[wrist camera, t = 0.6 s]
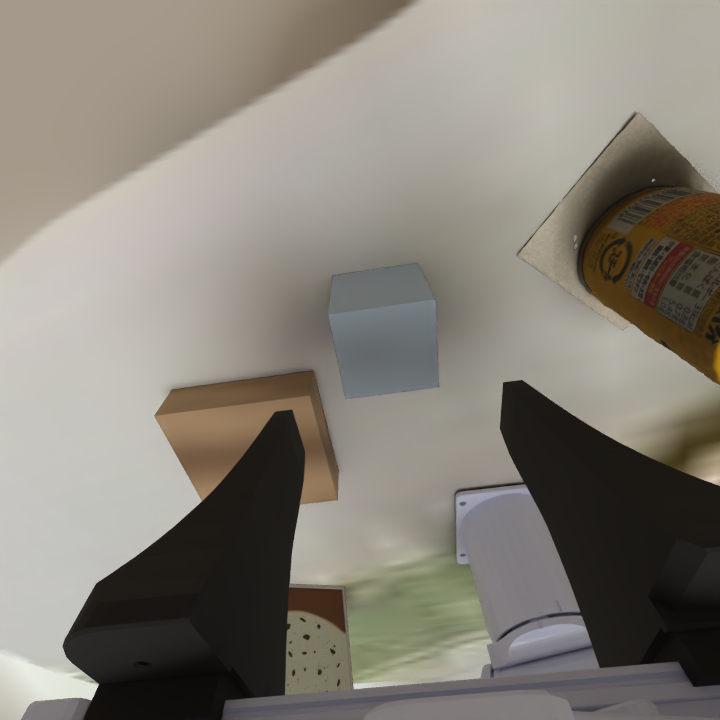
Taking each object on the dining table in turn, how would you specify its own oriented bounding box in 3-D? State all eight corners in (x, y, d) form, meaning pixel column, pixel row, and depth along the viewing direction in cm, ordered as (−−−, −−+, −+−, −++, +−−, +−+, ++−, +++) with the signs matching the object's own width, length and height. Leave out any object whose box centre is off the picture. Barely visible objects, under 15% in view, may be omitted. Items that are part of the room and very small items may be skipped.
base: (338, 471, 28) (337, 500, 26) (220, 485, 28) (209, 514, 26) (313, 370, 23) (309, 395, 21) (171, 389, 23) (154, 415, 21)
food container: (232, 613, 38) (199, 752, 30) (229, 581, 35) (190, 725, 27) (352, 617, 39) (353, 752, 31) (359, 586, 36) (362, 727, 28)
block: (421, 337, 22) (439, 386, 18) (346, 347, 22) (345, 399, 18) (417, 262, 20) (435, 299, 15) (332, 275, 20) (328, 314, 16)
